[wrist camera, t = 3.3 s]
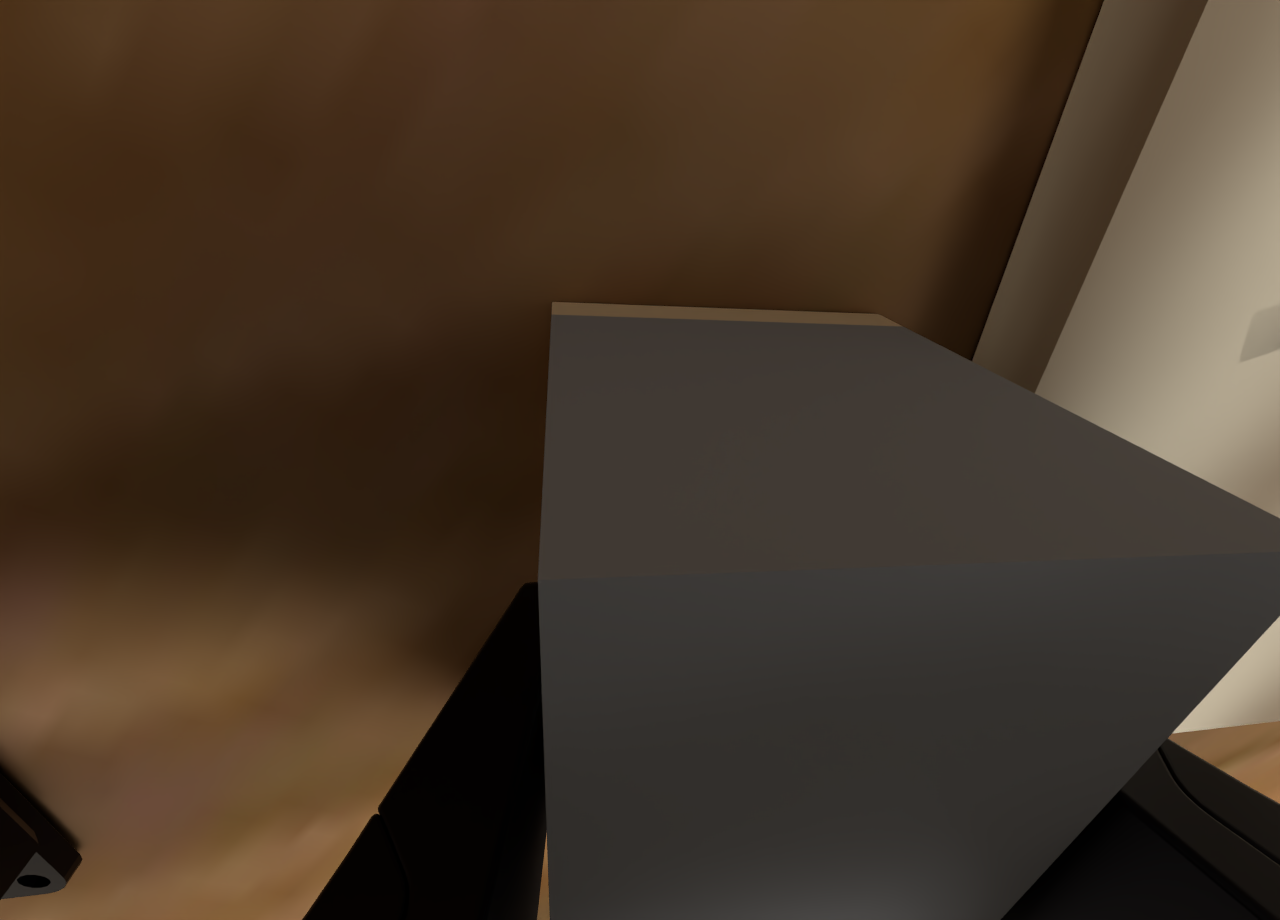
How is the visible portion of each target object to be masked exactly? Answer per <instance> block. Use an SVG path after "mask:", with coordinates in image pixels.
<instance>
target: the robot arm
mask: <svg viewBox="0 0 1280 920" xmlns="http://www.w3.org/2000/svg"><path fill="white" fill-rule="evenodd" d="M378 812H379V814H374V815H373V816H372V817H371V818H370V820H369V821H368V823H367V825H366V826H365V828H364V829H363V831H362V832H361V834H360V835H359V837H358V838H357V840H356V842H355V843H354V845H353V846H352V848H351V849H350V851H349V852H348V854H347V855H346V857H345V858H344V860H343V861H342V863H341V864H340V866H339V867H338V868H337V870H336V871H335V873H334V874H333V876H332V877H331V879H330V880H329V882H328V883H327V885H326V886H325V887H324V889H323V890H322V892H321V893H320V895H319V896H318V898H317V899H316V901H315V902H314V904H313V905H312V906H311V908H310V909H309V911H308V912H307V914H306V915H305V916H304V918H303V919H302V920H537V913H538V904H539V895H540V886H541V877H542V868H543V859H544V850H545V841H546V832H547V822H546V794H545V766H544V738H543V710H542V682H541V655H540V627H539V599H538V582H530V583H525V584H524V585H523V586H522V587H521V588H520V590H519V591H518V593H517V594H516V596H515V598H514V599H513V601H512V602H511V604H510V605H509V607H508V608H507V610H506V611H505V613H504V614H503V616H502V618H501V619H500V621H499V622H498V624H497V625H496V627H495V628H494V630H493V631H492V633H491V634H490V636H489V637H488V639H487V641H486V642H485V644H484V645H483V647H482V648H481V650H480V651H479V653H478V654H477V656H476V657H475V659H474V661H473V662H472V664H471V665H470V667H469V668H468V670H467V671H466V673H465V674H464V676H463V677H462V679H461V681H460V682H459V684H458V685H457V687H456V688H455V690H454V691H453V693H452V694H451V696H450V697H449V699H448V701H447V702H446V704H445V705H444V707H443V708H442V710H441V711H440V713H439V714H438V716H437V717H436V719H435V721H434V722H433V724H432V725H431V727H430V728H429V730H428V731H427V733H426V734H425V736H424V737H423V739H422V741H421V742H420V744H419V745H418V747H417V748H416V750H415V751H414V753H413V754H412V756H411V757H410V759H409V761H408V762H407V764H406V765H405V767H404V768H403V770H402V771H401V773H400V774H399V776H398V777H397V779H396V781H395V782H394V784H393V785H392V787H391V788H390V790H389V791H388V793H387V794H386V796H385V797H384V799H383V801H382V802H381V804H380V805H379V807H378ZM81 861H82V857H81V855H80V854H79V853H78V852H77V851H76V850H75V849H74V848H73V847H72V846H71V845H70V844H69V843H68V842H67V841H66V840H65V839H64V837H63V836H62V835H61V834H60V833H59V832H58V831H57V830H56V829H55V828H54V827H53V826H52V825H51V824H50V823H49V822H48V821H47V820H46V819H45V818H44V817H43V816H42V815H41V814H40V813H39V812H38V811H37V810H36V809H35V808H34V807H33V806H32V805H31V804H30V803H29V802H28V801H27V800H26V799H25V798H24V797H23V796H22V795H21V794H20V793H19V792H18V791H17V790H16V788H15V787H14V786H13V785H12V784H11V783H10V782H9V781H8V780H7V779H6V778H5V777H4V776H3V775H2V774H1V773H0V900H1V899H6V898H15V897H23V896H31V895H39V894H47V893H52V892H56V891H59V890H61V889H63V888H64V887H65V886H66V884H67V883H68V881H69V880H70V878H71V877H72V875H73V874H74V872H75V871H76V869H77V868H78V866H79V865H80V863H81ZM1001 920H1280V804H1279V803H1277V802H1276V801H1274V800H1272V799H1270V798H1268V797H1267V796H1265V795H1263V794H1261V793H1259V792H1258V791H1256V790H1254V789H1252V788H1251V787H1249V786H1247V785H1245V784H1244V783H1242V782H1240V781H1239V780H1237V779H1235V778H1234V777H1232V776H1230V775H1228V774H1227V773H1225V772H1223V771H1222V770H1220V769H1218V768H1217V767H1215V766H1213V765H1211V764H1210V763H1208V762H1206V761H1205V760H1203V759H1201V758H1200V757H1198V756H1196V755H1194V754H1193V753H1191V752H1189V751H1188V750H1186V749H1184V748H1183V747H1181V746H1180V745H1178V744H1176V743H1175V742H1173V741H1171V740H1170V739H1168V738H1167V739H1166V740H1165V741H1164V742H1163V744H1162V745H1161V746H1160V747H1159V748H1158V749H1157V750H1156V751H1155V752H1154V753H1153V754H1152V756H1151V757H1150V758H1149V759H1148V760H1147V761H1146V762H1145V763H1144V764H1143V765H1142V766H1141V767H1140V769H1139V770H1138V771H1137V772H1136V773H1135V774H1134V775H1133V776H1132V777H1131V778H1130V779H1129V781H1128V782H1127V783H1126V784H1125V785H1124V786H1123V787H1122V788H1121V789H1120V790H1119V791H1118V792H1117V794H1116V795H1115V796H1114V797H1113V798H1112V799H1111V800H1110V801H1109V802H1108V803H1107V804H1106V806H1105V807H1104V808H1103V809H1102V810H1101V811H1100V812H1099V813H1098V814H1097V815H1096V816H1095V817H1094V819H1093V820H1092V821H1091V822H1090V823H1089V824H1088V825H1087V826H1086V827H1085V828H1084V829H1083V831H1082V832H1081V833H1080V834H1079V835H1078V836H1077V837H1076V838H1075V839H1074V840H1073V841H1072V843H1071V844H1070V845H1069V846H1068V847H1067V848H1066V849H1065V850H1064V851H1063V852H1062V853H1061V854H1060V856H1059V857H1058V858H1057V859H1056V860H1055V861H1054V862H1053V863H1052V864H1051V865H1050V866H1049V868H1048V869H1047V870H1046V871H1045V872H1044V873H1043V874H1042V875H1041V876H1040V877H1039V878H1038V879H1037V881H1036V882H1035V883H1034V884H1033V885H1032V886H1031V887H1030V888H1029V889H1028V890H1027V891H1026V893H1025V894H1024V895H1023V896H1022V897H1021V898H1020V899H1019V900H1018V901H1017V902H1016V903H1015V904H1014V906H1013V907H1012V908H1011V909H1010V910H1009V911H1008V912H1007V913H1006V914H1005V915H1004V916H1003V918H1002V919H1001Z"/></svg>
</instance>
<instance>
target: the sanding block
mask: <svg viewBox="0 0 1280 920" xmlns="http://www.w3.org/2000/svg"><path fill="white" fill-rule="evenodd" d="M538 599H539V627H540V655H541V682H542V710H543V738H544V766H545V794H546V822H547V850H548V878H549V906H550V920H1001V919H1002V918H1003V916H1004V915H1005V914H1006V913H1007V912H1008V911H1009V910H1010V909H1011V908H1012V907H1013V906H1014V904H1015V903H1016V902H1017V901H1018V900H1019V899H1020V898H1021V897H1022V896H1023V895H1024V894H1025V893H1026V891H1027V890H1028V889H1029V888H1030V887H1031V886H1032V885H1033V884H1034V883H1035V882H1036V881H1037V879H1038V878H1039V877H1040V876H1041V875H1042V874H1043V873H1044V872H1045V871H1046V870H1047V869H1048V868H1049V866H1050V865H1051V864H1052V863H1053V862H1054V861H1055V860H1056V859H1057V858H1058V857H1059V856H1060V854H1061V853H1062V852H1063V851H1064V850H1065V849H1066V848H1067V847H1068V846H1069V845H1070V844H1071V843H1072V841H1073V840H1074V839H1075V838H1076V837H1077V836H1078V835H1079V834H1080V833H1081V832H1082V831H1083V829H1084V828H1085V827H1086V826H1087V825H1088V824H1089V823H1090V822H1091V821H1092V820H1093V819H1094V817H1095V816H1096V815H1097V814H1098V813H1099V812H1100V811H1101V810H1102V809H1103V808H1104V807H1105V806H1106V804H1107V803H1108V802H1109V801H1110V800H1111V799H1112V798H1113V797H1114V796H1115V795H1116V794H1117V792H1118V791H1119V790H1120V789H1121V788H1122V787H1123V786H1124V785H1125V784H1126V783H1127V782H1128V781H1129V779H1130V778H1131V777H1132V776H1133V775H1134V774H1135V773H1136V772H1137V771H1138V770H1139V769H1140V767H1141V766H1142V765H1143V764H1144V763H1145V762H1146V761H1147V760H1148V759H1149V758H1150V757H1151V756H1152V754H1153V753H1154V752H1155V751H1156V750H1157V749H1158V748H1159V747H1160V746H1161V745H1162V744H1163V742H1164V741H1165V740H1166V739H1167V738H1168V737H1169V736H1170V735H1171V734H1172V733H1173V732H1174V731H1175V729H1176V728H1177V727H1178V726H1179V725H1180V724H1181V723H1182V722H1183V721H1184V720H1185V719H1186V717H1187V716H1188V715H1189V714H1190V713H1191V712H1192V711H1193V710H1194V709H1195V708H1196V707H1197V706H1198V704H1199V703H1200V702H1201V701H1202V700H1203V699H1204V698H1205V697H1206V696H1207V695H1208V694H1209V692H1210V691H1211V690H1212V689H1213V688H1214V687H1215V686H1216V685H1217V684H1218V683H1219V682H1220V681H1221V679H1222V678H1223V677H1224V676H1225V675H1226V674H1227V673H1228V672H1229V671H1230V670H1231V669H1232V667H1233V666H1234V665H1235V664H1236V663H1237V662H1238V661H1239V660H1240V659H1241V658H1242V657H1243V655H1244V654H1245V653H1246V652H1247V651H1248V650H1249V649H1250V648H1251V647H1252V646H1253V645H1254V644H1255V642H1256V641H1257V640H1258V639H1259V638H1260V637H1261V636H1262V635H1263V634H1264V633H1265V632H1266V630H1267V629H1268V628H1269V627H1270V626H1271V625H1272V624H1273V623H1274V622H1275V621H1276V620H1277V619H1278V617H1279V616H1280V518H1278V517H1276V516H1274V515H1272V514H1270V513H1268V512H1266V511H1264V510H1262V509H1260V508H1259V507H1257V506H1255V505H1253V504H1251V503H1249V502H1247V501H1245V500H1243V499H1241V498H1239V497H1237V496H1235V495H1233V494H1231V493H1229V492H1227V491H1225V490H1223V489H1221V488H1219V487H1217V486H1215V485H1213V484H1211V483H1209V482H1207V481H1206V480H1204V479H1202V478H1200V477H1198V476H1196V475H1194V474H1192V473H1190V472H1188V471H1186V470H1184V469H1182V468H1180V467H1178V466H1176V465H1174V464H1172V463H1170V462H1168V461H1166V460H1164V459H1162V458H1160V457H1158V456H1156V455H1154V454H1152V453H1151V452H1149V451H1147V450H1145V449H1143V448H1141V447H1139V446H1137V445H1135V444H1133V443H1131V442H1129V441H1127V440H1125V439H1123V438H1121V437H1119V436H1117V435H1115V434H1113V433H1111V432H1109V431H1107V430H1105V429H1103V428H1101V427H1099V426H1097V425H1096V424H1094V423H1092V422H1090V421H1088V420H1086V419H1084V418H1082V417H1080V416H1078V415H1076V414H1074V413H1072V412H1070V411H1068V410H1066V409H1064V408H1062V407H1060V406H1058V405H1056V404H1054V403H1052V402H1050V401H1048V400H1046V399H1044V398H1043V397H1041V396H1039V395H1037V394H1035V393H1033V392H1031V391H1029V390H1027V389H1025V388H1023V387H1021V386H1019V385H1017V384H1015V383H1013V382H1011V381H1009V380H1007V379H1005V378H1003V377H1001V376H999V375H997V374H995V373H993V372H991V371H989V370H988V369H986V368H984V367H982V366H980V365H978V364H976V363H974V362H972V361H970V360H968V359H966V358H964V357H962V356H960V355H958V354H956V353H954V352H952V351H950V350H948V349H946V348H944V347H942V346H940V345H938V344H936V343H934V342H933V341H931V340H929V339H927V338H925V337H923V336H921V335H919V334H917V333H915V332H913V331H911V330H909V329H907V328H905V327H903V326H901V325H899V324H897V323H895V322H893V321H891V320H889V319H887V318H885V317H883V316H881V315H880V314H864V313H837V312H810V311H784V310H757V309H730V308H704V307H677V306H650V305H624V304H597V303H570V302H552V314H551V333H550V353H549V372H548V392H547V411H546V431H545V450H544V470H543V489H542V509H541V528H540V548H539V567H538Z"/></svg>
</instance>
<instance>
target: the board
mask: <svg viewBox="0 0 1280 920" xmlns="http://www.w3.org/2000/svg"><path fill="white" fill-rule="evenodd" d="M972 362H974V363H976V364H978V365H980V366H982V367H984V368H986V369H988V370H989V371H991V372H993V373H995V374H997V375H999V376H1001V377H1003V378H1005V379H1007V380H1009V381H1011V382H1013V383H1015V384H1017V385H1019V386H1021V387H1023V388H1025V389H1027V390H1029V391H1031V392H1033V393H1035V394H1037V395H1039V396H1041V397H1043V398H1044V399H1046V400H1048V401H1050V402H1052V403H1054V404H1056V405H1058V406H1060V407H1062V408H1064V409H1066V410H1068V411H1070V412H1072V413H1074V414H1076V415H1078V416H1080V417H1082V418H1084V419H1086V420H1088V421H1090V422H1092V423H1094V424H1096V425H1097V426H1099V427H1101V428H1103V429H1105V430H1107V431H1109V432H1111V433H1113V434H1115V435H1117V436H1119V437H1121V438H1123V439H1125V440H1127V441H1129V442H1131V443H1133V444H1135V445H1137V446H1139V447H1141V448H1143V449H1145V450H1147V451H1149V452H1151V453H1152V454H1154V455H1156V456H1158V457H1160V458H1162V459H1164V460H1166V461H1168V462H1170V463H1172V464H1174V465H1176V466H1178V467H1180V468H1182V469H1184V470H1186V471H1188V472H1190V473H1192V474H1194V475H1196V476H1198V477H1200V478H1202V479H1204V480H1206V481H1207V482H1209V483H1211V484H1213V485H1215V486H1217V487H1219V488H1221V489H1223V490H1225V491H1227V492H1229V493H1231V494H1233V495H1235V496H1237V497H1239V498H1241V499H1243V500H1245V501H1247V502H1249V503H1251V504H1253V505H1255V506H1257V507H1259V508H1260V509H1262V510H1264V511H1266V512H1268V513H1270V514H1272V515H1274V516H1276V517H1278V518H1280V0H1104V2H1103V5H1102V7H1101V10H1100V13H1099V16H1098V18H1097V21H1096V24H1095V27H1094V29H1093V32H1092V35H1091V37H1090V40H1089V43H1088V46H1087V48H1086V51H1085V54H1084V57H1083V59H1082V62H1081V65H1080V68H1079V70H1078V73H1077V76H1076V78H1075V81H1074V84H1073V87H1072V89H1071V92H1070V95H1069V98H1068V100H1067V103H1066V106H1065V108H1064V111H1063V114H1062V117H1061V119H1060V122H1059V125H1058V128H1057V130H1056V133H1055V136H1054V139H1053V141H1052V144H1051V147H1050V149H1049V152H1048V155H1047V158H1046V160H1045V163H1044V166H1043V169H1042V171H1041V174H1040V177H1039V180H1038V182H1037V185H1036V188H1035V190H1034V193H1033V196H1032V199H1031V201H1030V204H1029V207H1028V210H1027V212H1026V215H1025V218H1024V220H1023V223H1022V226H1021V229H1020V231H1019V234H1018V237H1017V240H1016V242H1015V245H1014V248H1013V251H1012V253H1011V256H1010V259H1009V261H1008V264H1007V267H1006V270H1005V272H1004V275H1003V278H1002V281H1001V283H1000V286H999V289H998V292H997V294H996V297H995V300H994V302H993V305H992V308H991V311H990V313H989V316H988V319H987V322H986V324H985V327H984V330H983V332H982V335H981V338H980V341H979V343H978V346H977V349H976V352H975V354H974V357H973V360H972ZM1275 721H1280V616H1279V617H1278V619H1277V620H1276V621H1275V622H1274V623H1273V624H1272V625H1271V626H1270V627H1269V628H1268V629H1267V630H1266V632H1265V633H1264V634H1263V635H1262V636H1261V637H1260V638H1259V639H1258V640H1257V641H1256V642H1255V644H1254V645H1253V646H1252V647H1251V648H1250V649H1249V650H1248V651H1247V652H1246V653H1245V654H1244V655H1243V657H1242V658H1241V659H1240V660H1239V661H1238V662H1237V663H1236V664H1235V665H1234V666H1233V667H1232V669H1231V670H1230V671H1229V672H1228V673H1227V674H1226V675H1225V676H1224V677H1223V678H1222V679H1221V681H1220V682H1219V683H1218V684H1217V685H1216V686H1215V687H1214V688H1213V689H1212V690H1211V691H1210V692H1209V694H1208V695H1207V696H1206V697H1205V698H1204V699H1203V700H1202V701H1201V702H1200V703H1199V704H1198V706H1197V707H1196V708H1195V709H1194V710H1193V711H1192V712H1191V713H1190V714H1189V715H1188V716H1187V717H1186V719H1185V720H1184V721H1183V722H1182V723H1181V724H1180V725H1179V726H1178V727H1177V728H1176V729H1175V731H1174V732H1173V733H1180V732H1188V731H1197V730H1206V729H1215V728H1223V727H1232V726H1241V725H1249V724H1258V723H1267V722H1275Z"/></svg>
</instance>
